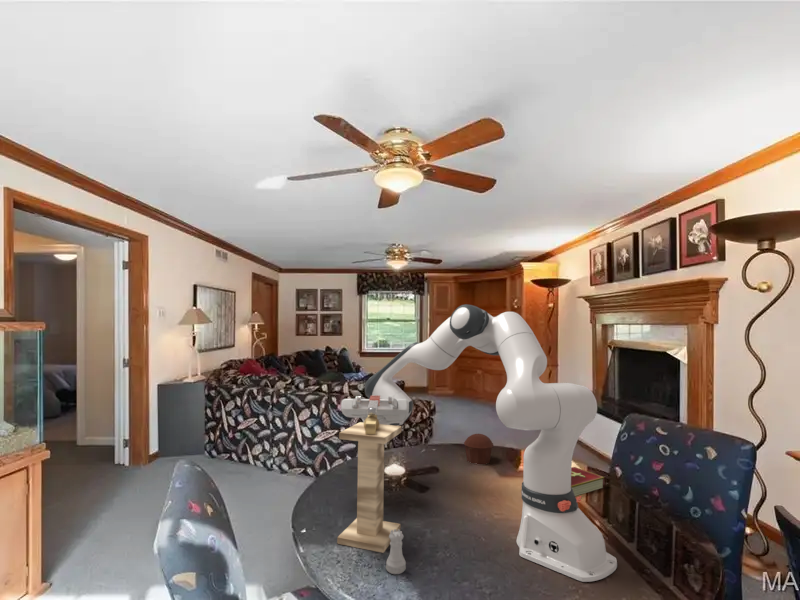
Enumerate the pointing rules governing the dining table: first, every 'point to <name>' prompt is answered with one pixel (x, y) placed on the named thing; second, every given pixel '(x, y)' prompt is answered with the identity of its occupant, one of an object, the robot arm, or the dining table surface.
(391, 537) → the rook chess piece
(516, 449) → the dining table surface
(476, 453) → the muffin
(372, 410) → the valve lever
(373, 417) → the stand
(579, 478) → the hardcover book
